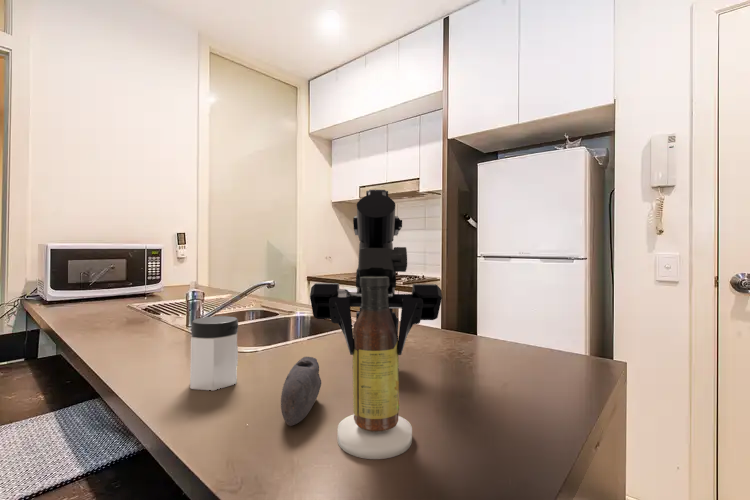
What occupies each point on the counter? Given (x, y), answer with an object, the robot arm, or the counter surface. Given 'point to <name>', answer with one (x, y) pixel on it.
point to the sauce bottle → (375, 359)
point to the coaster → (374, 439)
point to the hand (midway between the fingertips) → (375, 353)
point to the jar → (213, 352)
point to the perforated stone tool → (300, 390)
